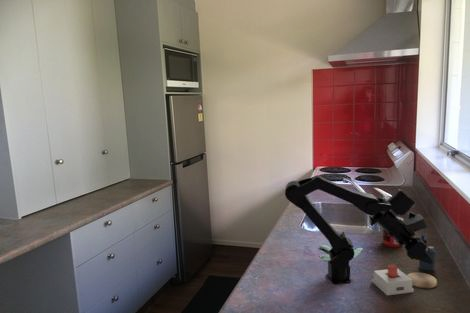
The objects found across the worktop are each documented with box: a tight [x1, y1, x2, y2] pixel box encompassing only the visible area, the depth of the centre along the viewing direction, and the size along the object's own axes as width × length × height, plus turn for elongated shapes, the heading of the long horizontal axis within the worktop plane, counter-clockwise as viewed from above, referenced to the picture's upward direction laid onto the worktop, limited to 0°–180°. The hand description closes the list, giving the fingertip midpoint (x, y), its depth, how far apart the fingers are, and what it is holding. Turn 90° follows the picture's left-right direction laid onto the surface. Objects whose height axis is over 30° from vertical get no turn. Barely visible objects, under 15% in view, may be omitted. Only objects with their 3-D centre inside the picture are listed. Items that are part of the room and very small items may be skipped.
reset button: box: [387, 264, 398, 278], centre depth 120 cm, size 3×3×4 cm
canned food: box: [382, 216, 404, 248], centre depth 154 cm, size 8×8×11 cm
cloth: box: [319, 244, 363, 262], centre depth 150 cm, size 20×22×2 cm
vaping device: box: [418, 234, 436, 271], centre depth 131 cm, size 3×5×12 cm, turn 56°
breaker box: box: [371, 267, 415, 296], centre depth 120 cm, size 9×9×4 cm
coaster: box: [406, 271, 438, 289], centre depth 123 cm, size 9×9×1 cm
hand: (426, 257), depth 122 cm, fingers open, 9 cm apart
